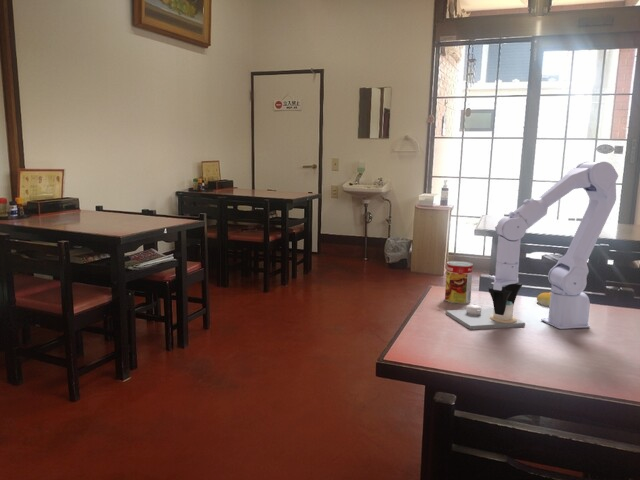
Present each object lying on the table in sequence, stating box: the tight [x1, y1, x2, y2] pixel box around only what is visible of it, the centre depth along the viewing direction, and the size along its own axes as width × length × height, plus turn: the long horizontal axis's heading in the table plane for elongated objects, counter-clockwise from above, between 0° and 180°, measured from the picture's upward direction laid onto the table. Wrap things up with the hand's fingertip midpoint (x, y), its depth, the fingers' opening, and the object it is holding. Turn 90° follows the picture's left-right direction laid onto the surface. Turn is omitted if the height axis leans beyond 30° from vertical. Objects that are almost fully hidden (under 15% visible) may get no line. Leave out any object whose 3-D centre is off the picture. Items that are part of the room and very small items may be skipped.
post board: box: [445, 304, 526, 330], centre depth 137 cm, size 16×14×3 cm
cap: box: [493, 301, 515, 321], centre depth 135 cm, size 5×5×5 cm
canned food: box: [444, 260, 474, 305], centre depth 156 cm, size 8×8×12 cm
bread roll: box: [536, 291, 551, 307], centre depth 155 cm, size 8×9×4 cm
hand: (503, 311), depth 135 cm, fingers open, 7 cm apart
